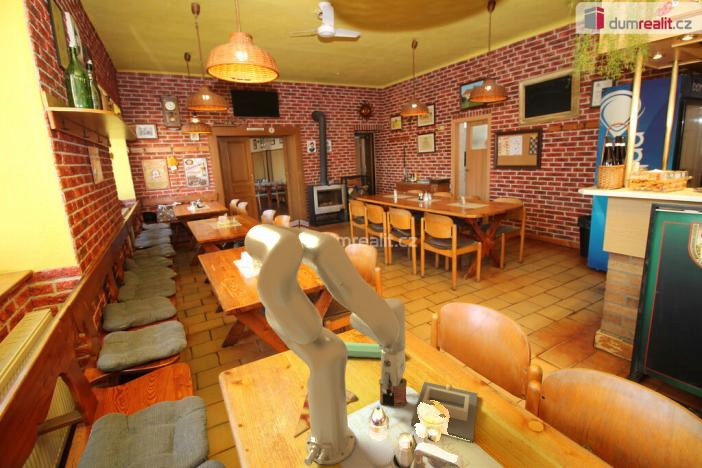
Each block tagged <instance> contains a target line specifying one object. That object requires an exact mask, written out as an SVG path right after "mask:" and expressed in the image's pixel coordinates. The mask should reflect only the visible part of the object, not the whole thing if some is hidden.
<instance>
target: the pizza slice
mask: <svg viewBox="0 0 702 468" xmlns="http://www.w3.org/2000/svg"><path fill="white" fill-rule="evenodd" d="M356 399H357V395H356V394H355V393H353V392H352V391H350V390H348V389H346V401H347V404H349V403H351V402H352V401H354V400H356ZM308 429H311V427H310V415H309V403H308V394H307V393H306V395H305V399H304V402H303V406H302V409H301V412H300V415H299V419H298V422H297V425H296V429H295V432H294V436H293V438H296V437H297V436H299V435H301V434H303V433H304V432H306V431H307V430H308Z"/></svg>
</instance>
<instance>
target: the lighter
mask: <svg viewBox="0 0 702 468" xmlns="http://www.w3.org/2000/svg"><path fill="white" fill-rule="evenodd" d="M403 376H404V375H403ZM403 376H402V379H401V381H400V383H399V385H398V386H394V388H393V393H394V406H389V405H385V404H383V393H382V385H383V383H382V381H381V378H379V380H378V384H379V404H380V406H384V407H390V408H397V407H398V408H399V407H401V408H402V407H406V406H407V405H406V404H408V400H407V384H408V383H407V379H406V378H404V377H403ZM389 382H390V383H391V380H389ZM388 389H389V390H390V389H391V385H388ZM405 405H406V406H405Z"/></svg>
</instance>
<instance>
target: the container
mask: <svg viewBox="0 0 702 468" xmlns="http://www.w3.org/2000/svg"><path fill="white" fill-rule="evenodd" d="M343 342H344V343H345V345H346V347H347V351H348V358H350V357H351V358H352V357H354V358H370V359H372V358H373V359H381V353H382V350H381V349H380V348H379V344H378V343H370V342H369V343H366V342H349V341H348V342H346V341H343Z"/></svg>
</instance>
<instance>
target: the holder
mask: <svg viewBox="0 0 702 468" xmlns="http://www.w3.org/2000/svg"><path fill="white" fill-rule="evenodd" d="M430 400H435V401H438V402H440V403H439V404H441V405H443V406H444V407H445V408H446V409H448V411H449V415H450V418H449V422H448V428H447V432H448V434H449V435H452V436H456V437H459V438H463V439H466V440H470V441H473V442H474V436H475V425H476V417H475V416H477V405H478V392H473V391H469V390H463V389H459V388H455V387H453V385H452V384H451V383H447V384H446V385H441V384H436V383H432V382H431V383H430V382H428V381H424V382H423V383H422V387H421V390H420V393H419V396H418V400H417V401H416V402H417V403H416V406H415V408H414V412H413V414H412V418H411V421H410V427H413V426H414V425H415V424H416V423H420V420H419V418H418V414H417V407H418V405H419V404H420V402H422V403H423V402H424V403H426V404H429V405H435V404H434V403H433V402H434V401H430ZM439 416H440V417H442V418H443V417H444V418H445V417H446V416H445V415H444V414H440V415H439Z"/></svg>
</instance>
